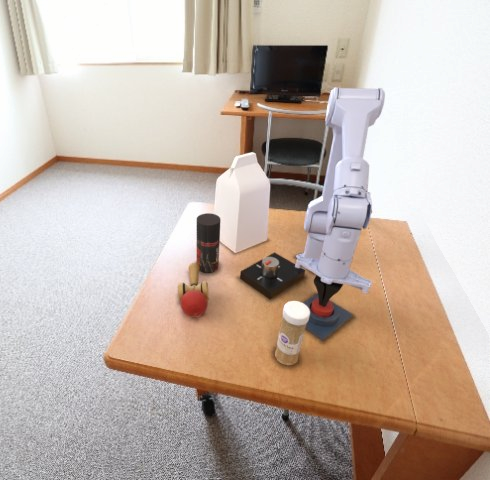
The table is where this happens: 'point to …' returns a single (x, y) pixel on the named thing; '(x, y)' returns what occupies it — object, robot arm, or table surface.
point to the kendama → (193, 293)
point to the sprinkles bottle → (291, 332)
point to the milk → (243, 203)
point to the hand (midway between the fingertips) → (323, 303)
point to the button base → (326, 320)
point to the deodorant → (208, 242)
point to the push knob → (322, 308)
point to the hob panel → (275, 285)
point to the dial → (269, 267)
